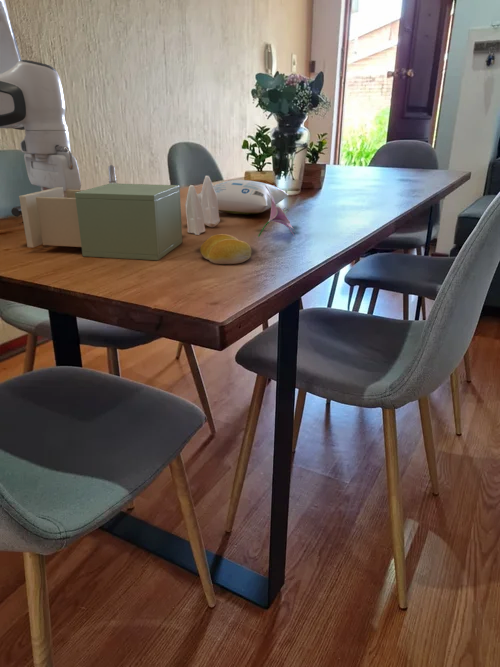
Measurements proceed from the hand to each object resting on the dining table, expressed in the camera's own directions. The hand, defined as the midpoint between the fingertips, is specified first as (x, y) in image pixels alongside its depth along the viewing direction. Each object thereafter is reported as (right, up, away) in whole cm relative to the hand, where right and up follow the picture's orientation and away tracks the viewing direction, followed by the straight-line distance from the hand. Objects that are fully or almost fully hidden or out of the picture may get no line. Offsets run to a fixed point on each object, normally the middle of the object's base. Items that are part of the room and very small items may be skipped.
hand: (57, 209), depth 116 cm
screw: (+14, -4, -2) cm, 15 cm away
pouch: (+42, +3, +15) cm, 45 cm away
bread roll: (+40, -16, -28) cm, 51 cm away
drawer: (+10, -11, -21) cm, 26 cm away
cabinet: (+23, -13, -23) cm, 35 cm away
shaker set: (+34, -6, -5) cm, 35 cm away
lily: (+50, -9, -12) cm, 52 cm away
